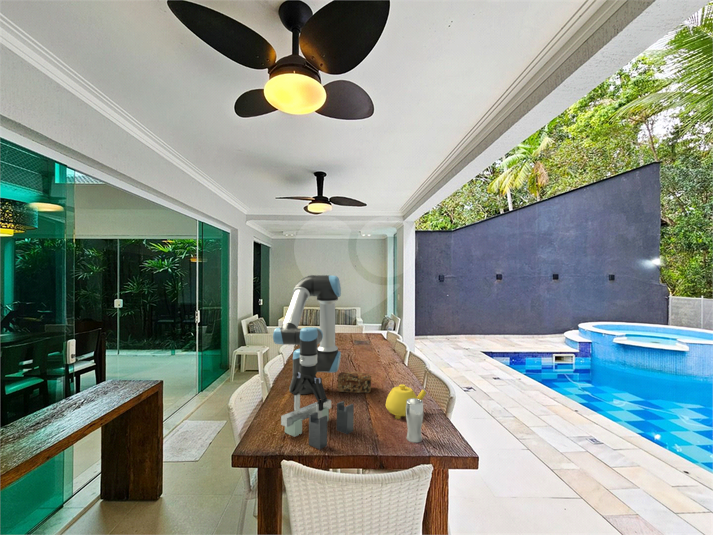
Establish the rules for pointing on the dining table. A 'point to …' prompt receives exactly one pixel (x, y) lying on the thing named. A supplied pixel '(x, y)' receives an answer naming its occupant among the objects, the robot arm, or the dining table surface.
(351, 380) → the bread
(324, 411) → the rest
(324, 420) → the post
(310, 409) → the rail
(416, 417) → the beer glass
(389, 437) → the dining table surface
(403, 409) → the teapot
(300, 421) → the rest
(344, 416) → the post
